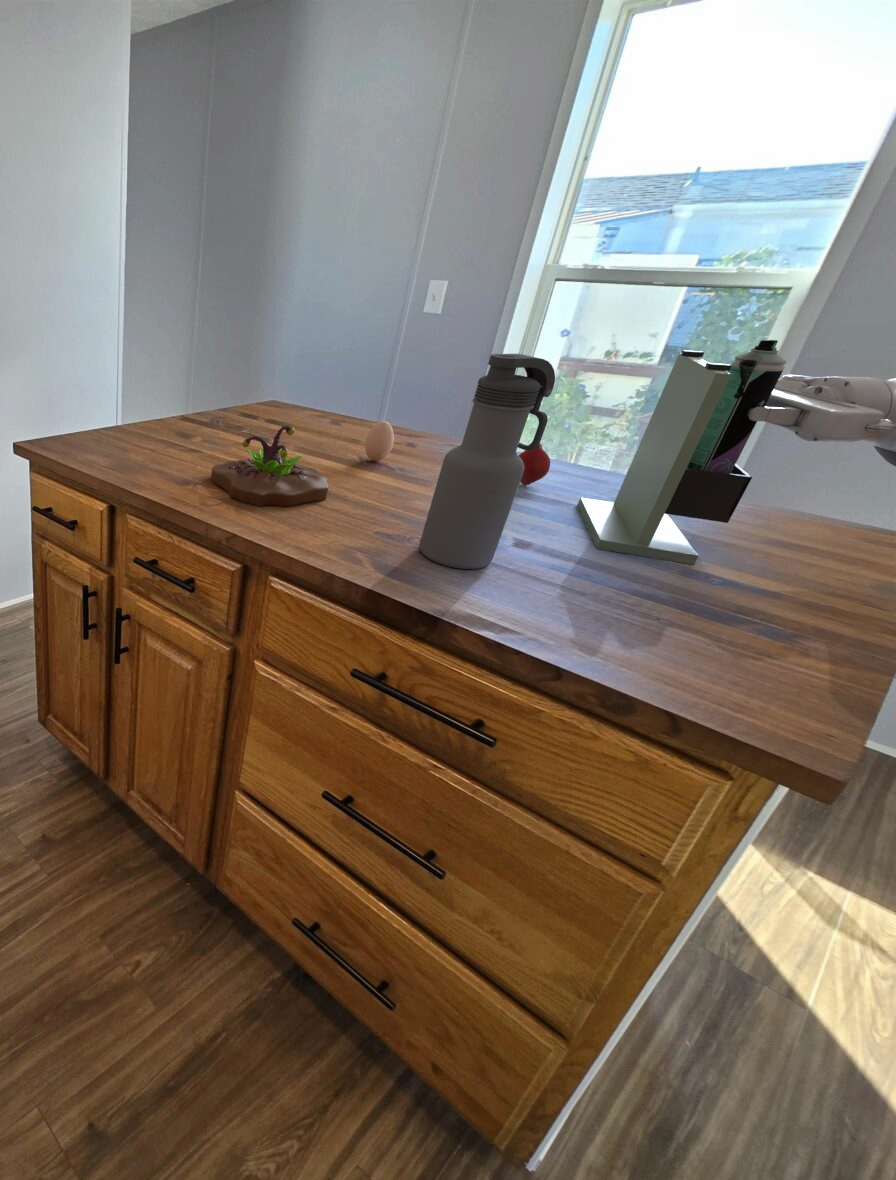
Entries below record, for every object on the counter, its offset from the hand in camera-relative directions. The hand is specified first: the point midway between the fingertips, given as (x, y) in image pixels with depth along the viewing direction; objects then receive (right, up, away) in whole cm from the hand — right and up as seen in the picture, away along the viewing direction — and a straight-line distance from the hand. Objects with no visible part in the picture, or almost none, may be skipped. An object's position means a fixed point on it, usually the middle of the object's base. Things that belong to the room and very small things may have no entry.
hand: (730, 407), depth 93 cm
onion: (-9, -6, +31) cm, 33 cm away
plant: (-58, -7, +28) cm, 65 cm away
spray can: (+1, -10, +5) cm, 11 cm away
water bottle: (-37, -21, +4) cm, 43 cm away
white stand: (-3, -17, +11) cm, 21 cm away
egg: (-32, +1, +43) cm, 54 cm away
